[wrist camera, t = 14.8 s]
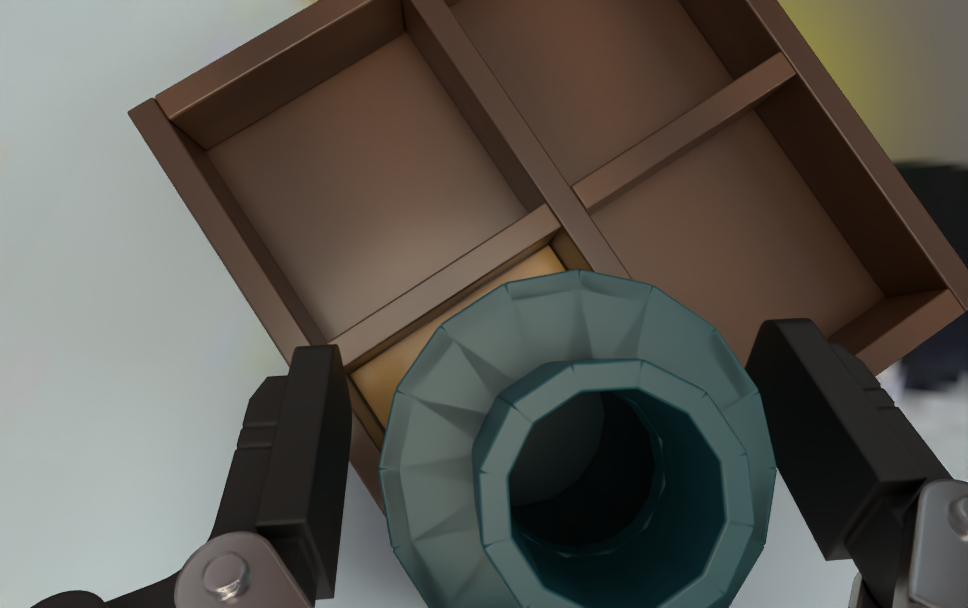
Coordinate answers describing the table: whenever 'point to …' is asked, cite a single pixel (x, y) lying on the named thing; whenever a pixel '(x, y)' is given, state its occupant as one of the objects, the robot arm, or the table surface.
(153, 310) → the table surface
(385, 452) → the bottle
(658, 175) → the compartment tray
